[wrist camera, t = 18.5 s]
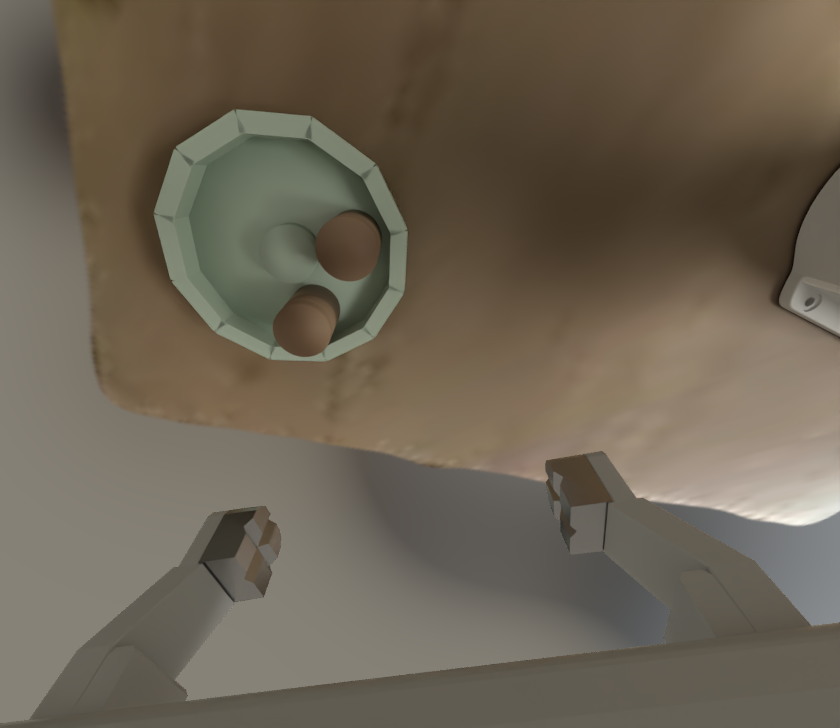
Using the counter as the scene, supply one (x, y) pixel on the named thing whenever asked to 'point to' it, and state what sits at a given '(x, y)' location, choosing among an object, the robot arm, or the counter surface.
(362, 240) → the bead
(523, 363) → the counter surface
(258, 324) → the tray
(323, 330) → the brown short cylinder
